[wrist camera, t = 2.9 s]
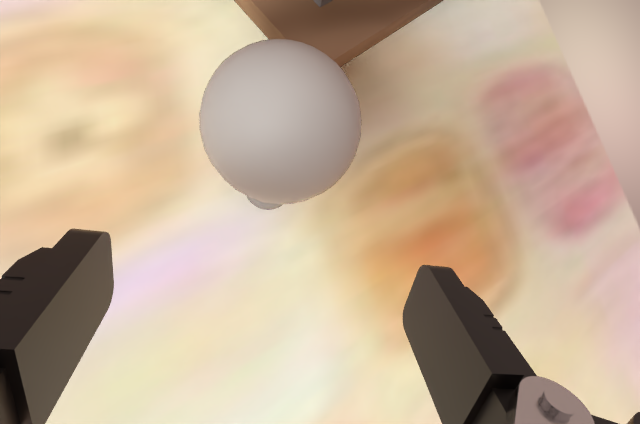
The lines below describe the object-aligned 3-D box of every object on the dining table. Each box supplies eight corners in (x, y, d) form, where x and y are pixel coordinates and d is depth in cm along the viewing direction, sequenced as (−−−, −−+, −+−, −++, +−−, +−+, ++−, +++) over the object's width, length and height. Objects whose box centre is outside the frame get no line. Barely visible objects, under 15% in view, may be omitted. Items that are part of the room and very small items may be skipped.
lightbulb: (317, 149, 24) (380, 13, 13) (318, 246, 22) (391, 174, 12) (216, 141, 22) (199, -17, 12) (208, 242, 21) (181, 158, 10)
